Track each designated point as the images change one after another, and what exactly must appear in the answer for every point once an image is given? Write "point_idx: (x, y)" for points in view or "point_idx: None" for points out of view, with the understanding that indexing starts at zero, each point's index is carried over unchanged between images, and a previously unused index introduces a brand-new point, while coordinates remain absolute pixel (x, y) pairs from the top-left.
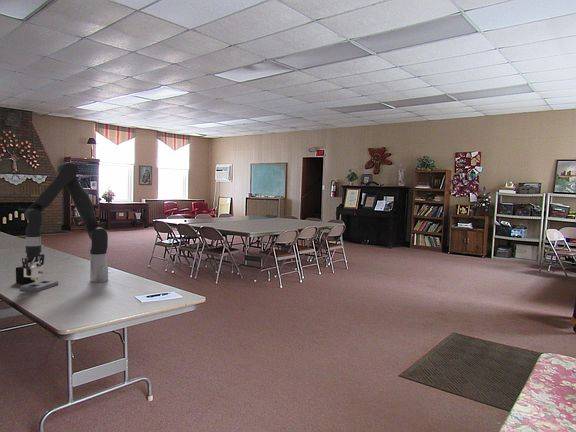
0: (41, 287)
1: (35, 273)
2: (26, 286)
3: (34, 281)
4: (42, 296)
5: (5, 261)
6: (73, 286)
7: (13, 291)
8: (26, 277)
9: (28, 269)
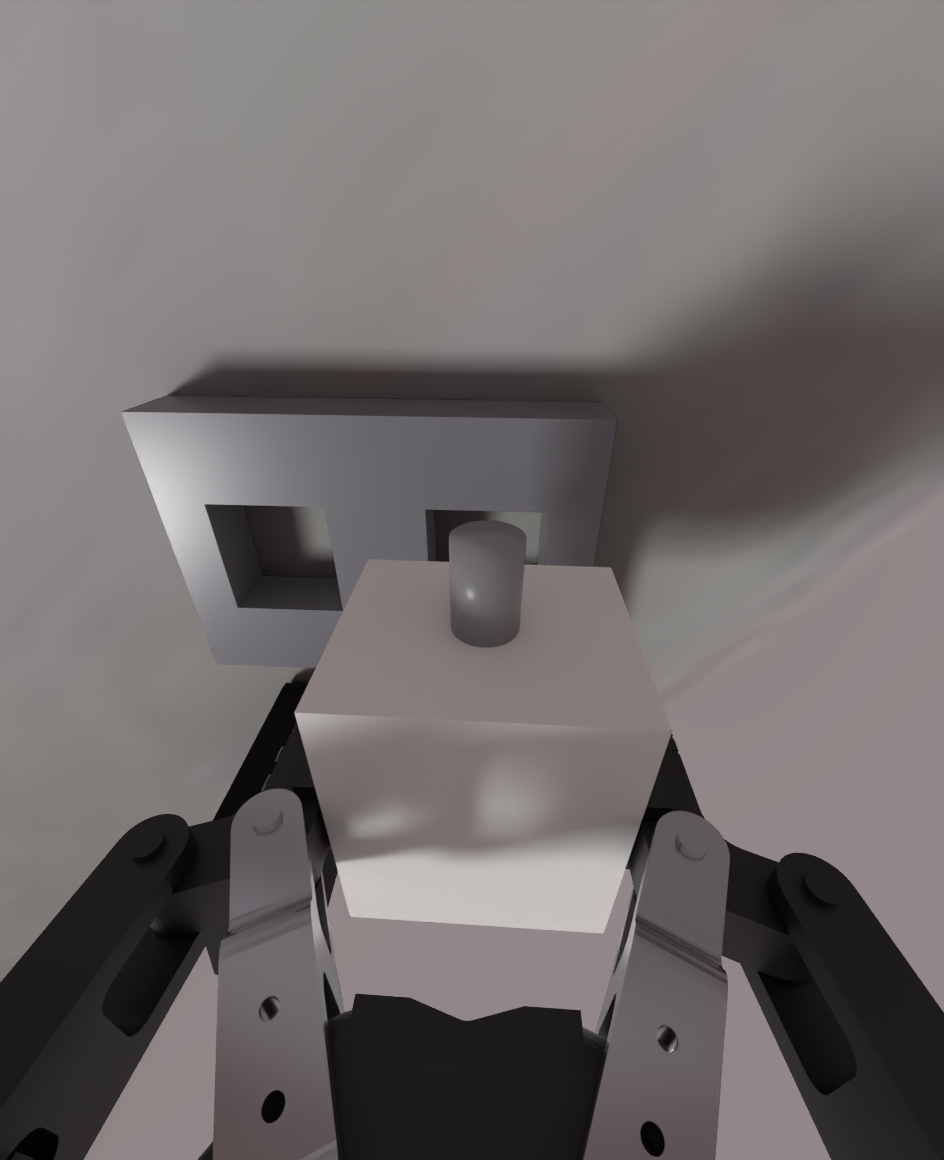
0: (523, 414)
1: (611, 626)
2: None
3: (281, 700)
4: (851, 106)
5: None
6: (27, 18)
7: None
8: None
9: (706, 822)
